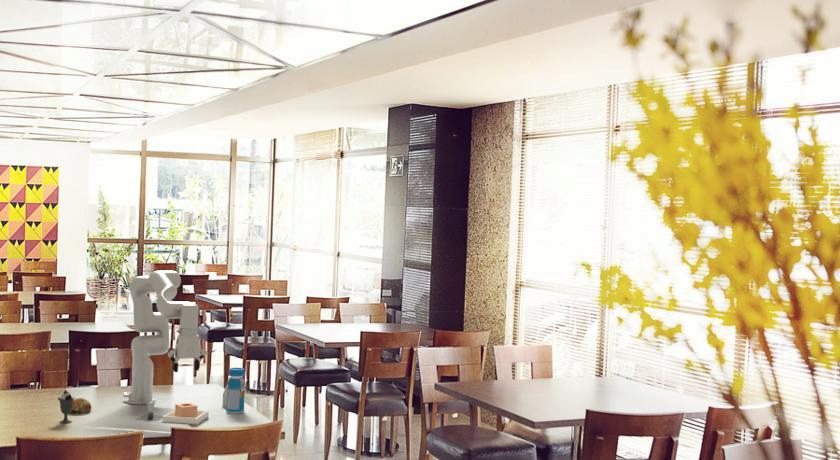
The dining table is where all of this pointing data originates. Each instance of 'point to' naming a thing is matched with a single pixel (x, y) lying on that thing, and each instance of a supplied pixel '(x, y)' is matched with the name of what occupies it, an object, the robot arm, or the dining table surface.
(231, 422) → the dining table surface
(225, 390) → the grey faceted block
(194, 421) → the tray
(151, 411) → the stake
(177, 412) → the collar
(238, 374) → the beverage bottle
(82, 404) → the bread roll
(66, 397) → the sundae
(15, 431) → the dining table surface
